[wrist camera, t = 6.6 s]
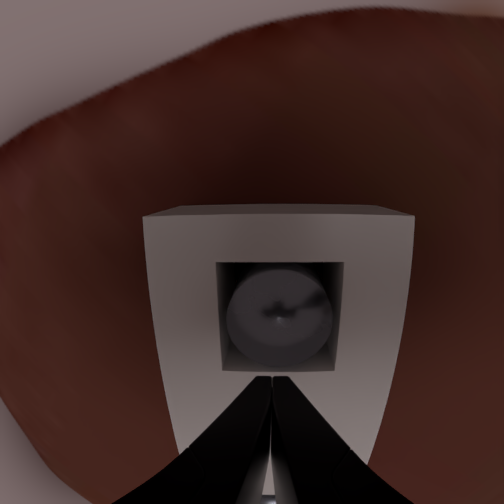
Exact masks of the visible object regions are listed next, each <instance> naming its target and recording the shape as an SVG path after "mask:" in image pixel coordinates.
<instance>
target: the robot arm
mask: <svg viewBox="0 0 504 504" xmlns="http://www.w3.org/2000/svg"><path fill="white" fill-rule="evenodd" d="M270 441H271V465H272V473H273V482H274V490H275V499H276V504H414V503H412V502H411V501H410V500H408V499H407V498H406V497H404V496H403V495H402V494H400V493H399V492H398V491H396V490H395V489H394V488H392V487H391V486H390V485H389V484H387V483H386V482H385V481H384V480H383V479H382V478H380V477H379V476H378V475H377V474H376V473H375V472H373V471H372V470H371V469H370V468H369V467H368V466H367V465H366V464H365V463H364V462H363V461H362V460H361V459H360V457H359V456H358V455H357V454H356V453H355V452H354V451H353V450H352V449H351V448H350V447H349V445H348V444H347V443H346V442H345V441H344V440H343V439H342V438H341V437H340V435H339V434H338V433H337V432H336V431H335V430H334V429H333V427H332V426H331V425H330V424H329V423H328V422H327V421H326V420H325V418H324V417H323V416H322V415H321V414H320V413H319V411H318V410H317V409H316V408H315V407H314V406H313V404H312V403H311V402H310V401H309V400H308V399H307V397H306V396H305V395H304V394H303V393H302V392H301V390H300V389H299V388H298V387H297V386H296V384H295V383H294V382H293V381H292V380H291V378H290V377H288V376H274V377H273V378H272V377H271V376H256V377H255V378H254V379H253V380H252V381H251V382H250V383H249V384H248V385H247V386H246V387H245V388H244V390H243V391H242V392H241V393H240V394H239V395H238V396H237V397H236V398H235V399H234V400H233V401H232V402H231V404H230V405H229V406H228V407H227V408H226V409H225V410H224V411H223V412H222V413H221V414H220V415H219V416H218V417H217V418H216V419H215V420H214V421H213V422H212V423H211V424H210V425H209V426H208V427H207V428H206V429H205V430H204V431H203V432H202V433H201V434H200V435H199V436H198V437H197V438H196V439H195V440H194V441H193V442H192V443H191V444H190V445H189V448H186V449H185V450H184V451H183V452H182V453H181V454H180V455H179V456H178V457H176V458H175V459H174V460H173V461H172V462H171V463H170V464H168V465H167V466H166V467H165V468H164V469H162V470H161V471H160V472H158V473H157V474H156V475H154V476H153V477H152V478H150V479H149V480H148V481H146V482H145V483H143V484H142V485H140V486H139V487H137V488H136V489H134V490H132V491H131V492H129V493H128V494H126V495H125V496H123V497H121V498H120V499H118V500H117V501H115V502H113V503H112V504H260V501H261V497H262V492H263V487H264V482H265V477H266V472H267V467H268V462H269V456H270ZM350 449H351V450H350Z"/></svg>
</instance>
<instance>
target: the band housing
mask: <svg viewBox="0 0 504 504" xmlns="http://www.w3.org/2000/svg"><path fill="white" fill-rule="evenodd" d="M414 225H415V216H413V215H409V214H406V213H402V212H399V211H395V210H391V209H388V208H384V207H380V206H376V205H349V204H227V205H191V206H179V207H175V208H171V209H168V210H164V211H161V212H157V213H154V214H150V215H147V216H144V217H143V230H144V244H145V255H146V266H147V276H148V285H149V294H150V302H151V310H152V317H153V324H154V331H155V337H156V344H157V350H158V356H159V362H160V368H161V373H162V378H163V384H164V389H165V394H166V399H167V403H168V408H169V413H170V417H171V422H172V426H173V430H174V435H175V439H176V443H177V447H178V451H179V455H180V454H181V453H182V452H183V451H184V450H185V449H186V448H189V445H190V444H191V443H192V442H193V441H194V440H195V439H196V438H197V437H198V436H199V435H200V434H201V433H202V432H203V431H204V430H205V429H206V428H207V427H208V426H209V425H210V424H211V423H212V422H213V421H214V420H215V419H216V418H217V417H218V416H219V415H220V414H221V413H222V412H223V411H224V410H225V409H226V408H227V407H228V406H229V405H230V404H231V402H232V401H233V400H234V399H235V398H236V397H237V396H238V395H239V394H240V393H241V392H242V391H243V390H244V388H245V387H246V386H247V385H248V384H249V383H250V382H251V381H252V380H253V379H254V378H255V377H256V376H271V377H272V378H273V377H274V376H288V377H290V378H291V380H292V381H293V382H294V383H295V384H296V386H297V387H298V388H299V389H300V390H301V392H302V393H303V394H304V395H305V396H306V397H307V399H308V400H309V401H310V402H311V403H312V404H313V406H314V407H315V408H316V409H317V410H318V411H319V413H320V414H321V415H322V416H323V417H324V418H325V420H326V421H327V422H328V423H329V424H330V425H331V426H332V427H333V429H334V430H335V431H336V432H337V433H338V434H339V435H340V437H341V438H342V439H343V440H344V441H345V442H346V443H347V444H348V445H349V447H350V448H351V449H352V450H353V451H354V452H355V453H356V454H357V455H358V456H359V457H360V459H361V460H362V461H363V462H364V463H365V464H366V465H367V464H368V461H369V458H370V455H371V452H372V449H373V446H374V443H375V440H376V437H377V434H378V430H379V427H380V424H381V420H382V417H383V413H384V410H385V406H386V402H387V399H388V395H389V391H390V387H391V383H392V378H393V374H394V370H395V365H396V361H397V356H398V351H399V346H400V341H401V335H402V330H403V324H404V318H405V311H406V305H407V298H408V290H409V282H410V273H411V264H412V253H413V240H414ZM234 262H323V281H322V285H323V288H324V290H325V292H326V295H327V297H328V299H329V302H330V304H331V308H332V314H333V323H332V328H331V332H330V335H329V337H328V339H327V341H326V342H325V344H324V345H323V346H322V348H321V349H320V350H319V351H318V352H317V353H316V354H315V355H313V356H312V357H310V358H309V359H307V360H305V361H303V362H301V363H298V364H295V365H291V366H285V367H273V366H267V365H263V364H259V363H257V362H255V361H253V360H251V359H249V358H248V357H246V356H245V355H243V354H242V353H241V352H240V351H239V350H238V349H237V347H236V346H235V345H234V343H233V342H232V340H231V338H230V336H229V333H228V329H227V323H226V315H227V309H228V306H229V303H230V300H231V298H232V295H233V292H234V290H235V271H234ZM351 449H350V450H351ZM262 495H275V490H274V482H273V473H272V465H271V441H270V456H269V462H268V467H267V472H266V477H265V482H264V487H263V492H262Z"/></svg>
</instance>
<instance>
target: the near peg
mask: <svg viewBox="0 0 504 504" xmlns="http://www.w3.org/2000/svg"><path fill="white" fill-rule="evenodd" d="M226 323H227V329H228V333H229V336H230V338H231V340H232V342H233V343H234V345H235V346H236V347H237V349H238V350H239V351H240V352H241V353H242V354H243V355H245V356H246V357H248V358H249V359H251V360H253V361H255V362H257V363H259V364H263V365H267V366H273V367H285V366H291V365H295V364H298V363H301V362H303V361H305V360H307V359H309V358H310V357H312V356H313V355H315V354H316V353H317V352H318V351H319V350H320V349H321V348H322V346H323V345H324V344H325V342H326V341H327V339H328V337H329V335H330V332H331V328H332V323H333V314H332V308H331V304H330V302H329V299H328V297H327V295H326V292H325V290H324V288H323V285H322V283H321V281H320V278H319V276H318V274H317V271H316V269H315V267H314V265H313V263H312V262H246V263H245V265H244V267H243V269H242V271H241V274H240V276H239V279H238V282H237V284H236V287H235V290H234V292H233V295H232V298H231V300H230V303H229V306H228V309H227V315H226Z"/></svg>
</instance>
